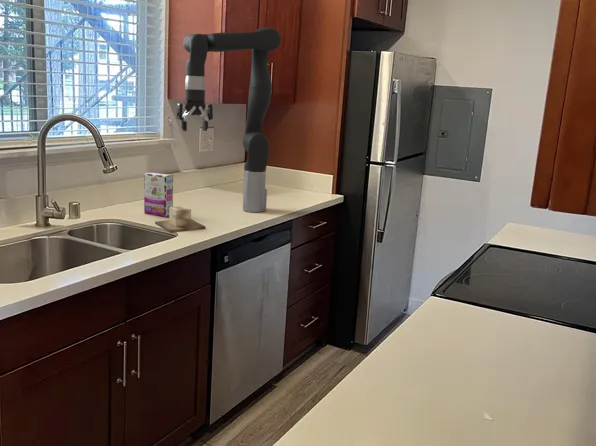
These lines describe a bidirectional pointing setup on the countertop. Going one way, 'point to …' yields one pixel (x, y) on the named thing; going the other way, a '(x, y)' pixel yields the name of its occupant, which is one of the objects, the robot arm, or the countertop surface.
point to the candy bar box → (158, 193)
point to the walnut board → (172, 228)
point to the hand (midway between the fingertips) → (194, 130)
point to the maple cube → (180, 216)
